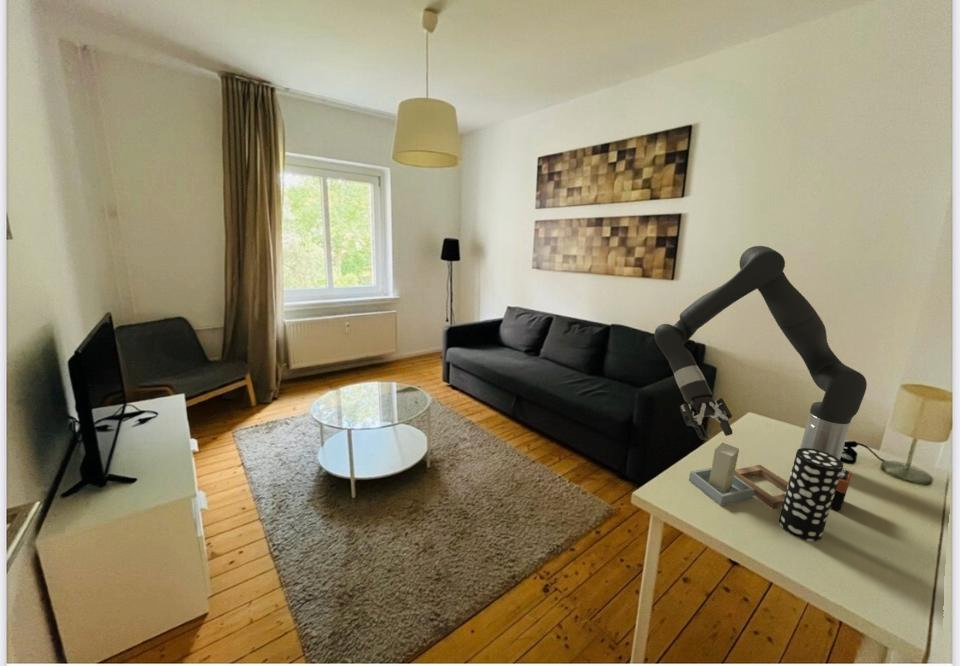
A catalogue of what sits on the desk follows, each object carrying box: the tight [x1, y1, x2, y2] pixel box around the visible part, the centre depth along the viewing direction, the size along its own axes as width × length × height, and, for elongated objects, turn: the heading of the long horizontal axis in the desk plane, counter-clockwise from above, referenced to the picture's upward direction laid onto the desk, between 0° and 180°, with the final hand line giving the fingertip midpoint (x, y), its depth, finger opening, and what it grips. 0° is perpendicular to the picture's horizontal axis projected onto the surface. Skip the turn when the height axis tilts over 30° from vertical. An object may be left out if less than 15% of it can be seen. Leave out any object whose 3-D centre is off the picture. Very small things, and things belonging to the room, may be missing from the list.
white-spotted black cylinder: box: [778, 447, 844, 542], centre depth 93 cm, size 8×8×20 cm
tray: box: [688, 467, 755, 507], centre depth 109 cm, size 11×11×3 cm
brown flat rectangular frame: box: [734, 464, 789, 510], centre depth 110 cm, size 12×14×2 cm
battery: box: [830, 467, 853, 512], centre depth 103 cm, size 4×7×10 cm, turn 132°
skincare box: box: [709, 442, 740, 494], centre depth 108 cm, size 6×4×12 cm
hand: (717, 437), depth 109 cm, fingers open, 8 cm apart
